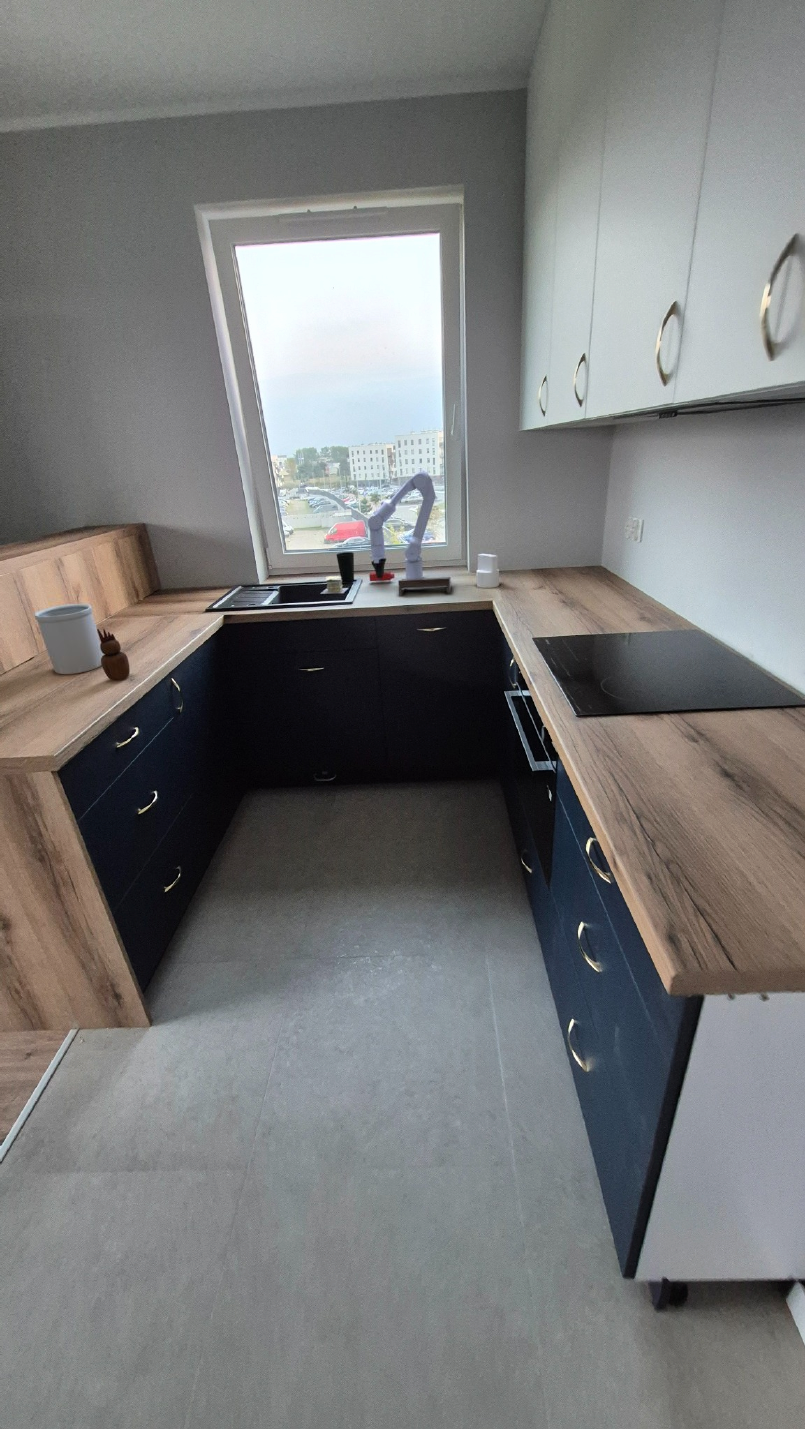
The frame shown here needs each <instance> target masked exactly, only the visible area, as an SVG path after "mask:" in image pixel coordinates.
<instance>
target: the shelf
mask: <svg viewBox="0 0 805 1429" xmlns="http://www.w3.org/2000/svg"><path fill="white" fill-rule="evenodd" d="M451 580H452V579H451V576H443V577H441V576H440V577H425V578H416V579H406V578H401V579H399V580H398V581H397V582H398V583H397V584H398V596H399V597H402V596H403V595H404V593H405V590H406V589H414V588H417V589H418V588H440V587H441V588H442V587H443V588H444V587H446V595H450V594H451V588H452V581H451Z"/></svg>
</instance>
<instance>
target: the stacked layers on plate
mask: <svg viewBox="0 0 805 1429" xmlns="http://www.w3.org/2000/svg"><path fill="white" fill-rule="evenodd" d="M325 581H326V582H325V583H326V584H327V585H326V588H325V589H323V591H321V592H320V594H321V595H322V594H323V595H326V594H344V593H345V592H346V591H348V590H349V587H343V586H344V585H343V582H342V580H341V576H333V575H332V576H326V577H325Z"/></svg>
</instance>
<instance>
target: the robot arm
mask: <svg viewBox="0 0 805 1429" xmlns="http://www.w3.org/2000/svg"><path fill="white" fill-rule="evenodd" d="M415 490H417V491H419V493H420V495H421V497H422V502H421V505H420V509H419V512H418V515H417V519H416V522H415V526H414V529H413V533H412V535H411V539H410V542H409V544H408V545H407V547H406V548H405V550H404V557H405V559H404V560H405V561H404V563H405V579H416V578H426V577H425V576H424V573H423V570H424V569H423V558H422V556H421V553H422V543H423V538H424V536H425V533H426V529H427V527H428V523H429V520H430V516H431V513H432V510H433V507H434V503H435V500H436V496H437V495H436V492H435V487H434V484H433V479H432V477H431V476H430V474H429V473H428V472H427V471H425V470H420V471H418V472H416V473H414V475H413V476H412V477H410V478H409V479H408V480H407V481H405V482H404V483H403V484H402V486H401V487H400V488H399V489H398V490H397V492H396V493H395V494H394V495H393V496H392V497H391V499H385V501H381V502H380V506H379V507H378V508H377V509H376V510H374V511H373V512H372V513H373V515H371V516H369V518H368V520H367V526H368V528H369V539H370V540H369V542H370V551H371V554H369V556H368V558H369V559H372V561H371V565H372V567H373V569H374V573H376V576H377V578H382V575H383V572H385V566H386V565H385V564H386V561H387V558H386V556H387V555H386V550H385V536H384V531H383V529H384V528H383V526H384V523H386V522H387V521H388V520H389V519H390V518H391V517H392V515H393V514H394V513H395V512H396V510H397V508H396V507H397V505H398V504H399V503H400V502H401V501H402V499H404V497H405V496H406V495H407V494H408V493H410V492H413V491H415Z"/></svg>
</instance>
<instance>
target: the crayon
mask: <svg viewBox="0 0 805 1429" xmlns="http://www.w3.org/2000/svg"><path fill="white" fill-rule="evenodd" d="M368 576H369V582H387V581H391V580H392V579H395V573H392V572H391V571H384V572H383V575H382V578H377V576H376V572H370V573H369V574H368Z"/></svg>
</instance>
